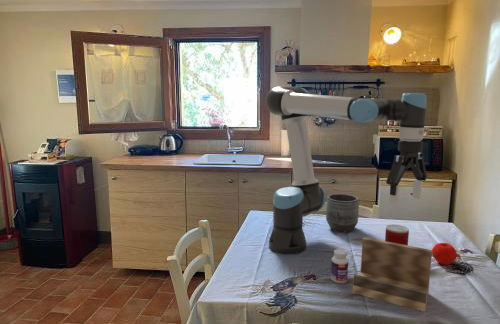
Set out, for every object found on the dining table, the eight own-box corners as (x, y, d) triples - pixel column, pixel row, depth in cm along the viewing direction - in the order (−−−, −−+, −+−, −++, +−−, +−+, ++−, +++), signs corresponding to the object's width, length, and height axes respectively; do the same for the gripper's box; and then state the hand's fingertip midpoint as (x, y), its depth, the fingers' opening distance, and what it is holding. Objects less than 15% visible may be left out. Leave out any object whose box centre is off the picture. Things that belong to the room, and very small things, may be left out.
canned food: (408, 260, 130) (411, 232, 128) (386, 258, 131) (387, 230, 130) (404, 252, 137) (406, 225, 135) (382, 250, 139) (384, 223, 137)
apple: (435, 256, 134) (437, 237, 132) (458, 262, 128) (460, 243, 127) (427, 262, 128) (429, 243, 127) (451, 270, 122) (453, 250, 121)
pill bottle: (338, 285, 113) (339, 256, 111) (327, 277, 118) (328, 250, 116) (351, 281, 115) (352, 253, 114) (339, 274, 120) (340, 247, 118)
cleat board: (352, 292, 108) (354, 249, 106) (361, 277, 118) (363, 237, 115) (424, 312, 98) (429, 264, 96) (428, 293, 108) (432, 250, 105)
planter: (324, 222, 171) (325, 192, 168) (355, 224, 169) (356, 193, 166) (326, 233, 157) (328, 201, 154) (360, 235, 155) (361, 202, 152)
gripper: (398, 143, 108) (393, 210, 112) (441, 138, 122) (435, 198, 126) (377, 141, 114) (373, 204, 118) (420, 136, 128) (415, 193, 132)
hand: (405, 201), depth 122 cm, fingers open, 13 cm apart
